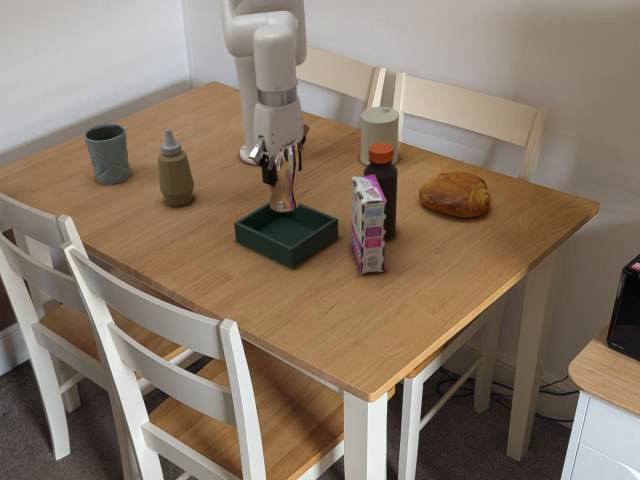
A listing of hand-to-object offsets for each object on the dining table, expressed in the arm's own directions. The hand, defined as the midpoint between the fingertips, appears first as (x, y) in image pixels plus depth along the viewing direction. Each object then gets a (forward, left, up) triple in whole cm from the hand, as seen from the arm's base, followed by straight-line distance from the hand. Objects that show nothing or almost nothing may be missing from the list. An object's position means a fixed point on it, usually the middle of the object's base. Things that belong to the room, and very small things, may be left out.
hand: (282, 176), depth 163 cm
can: (-41, -7, -15) cm, 44 cm away
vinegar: (-14, +14, -15) cm, 25 cm away
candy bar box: (-5, +18, -15) cm, 24 cm away
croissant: (-34, +20, -15) cm, 42 cm away
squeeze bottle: (+3, -32, -15) cm, 35 cm away
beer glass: (0, 0, -7) cm, 7 cm away
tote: (0, 0, -15) cm, 15 cm away
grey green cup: (+5, -55, -15) cm, 57 cm away
